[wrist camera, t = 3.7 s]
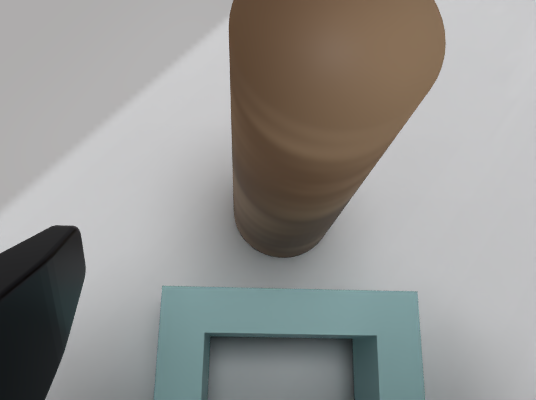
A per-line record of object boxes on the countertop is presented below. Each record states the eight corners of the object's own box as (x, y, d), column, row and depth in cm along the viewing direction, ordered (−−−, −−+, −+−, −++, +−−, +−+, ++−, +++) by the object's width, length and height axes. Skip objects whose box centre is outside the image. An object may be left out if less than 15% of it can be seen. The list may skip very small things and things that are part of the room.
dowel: (346, 192, 21) (477, -2, 10) (302, 275, 20) (391, 168, 8) (263, 148, 21) (293, -90, 10) (215, 227, 20) (186, 61, 9)
